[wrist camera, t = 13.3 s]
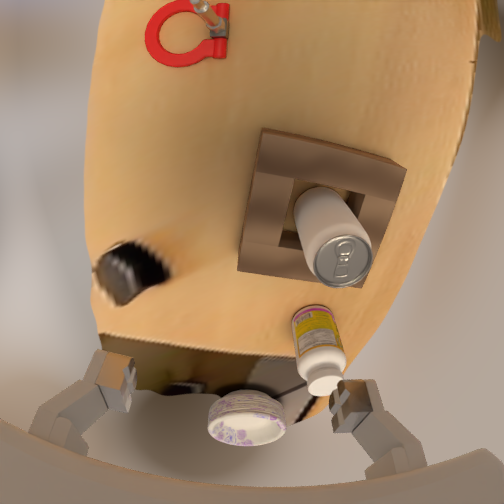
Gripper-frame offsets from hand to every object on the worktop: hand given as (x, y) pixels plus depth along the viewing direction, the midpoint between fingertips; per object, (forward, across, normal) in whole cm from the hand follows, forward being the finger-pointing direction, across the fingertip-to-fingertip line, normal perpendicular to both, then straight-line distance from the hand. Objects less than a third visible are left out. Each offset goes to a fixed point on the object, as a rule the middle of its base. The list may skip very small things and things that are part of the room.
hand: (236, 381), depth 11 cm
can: (+27, -9, +3) cm, 29 cm away
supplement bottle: (+27, -13, +21) cm, 37 cm away
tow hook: (+28, +9, -16) cm, 33 cm away
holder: (+27, -8, +3) cm, 29 cm away
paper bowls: (+27, -7, +46) cm, 53 cm away
